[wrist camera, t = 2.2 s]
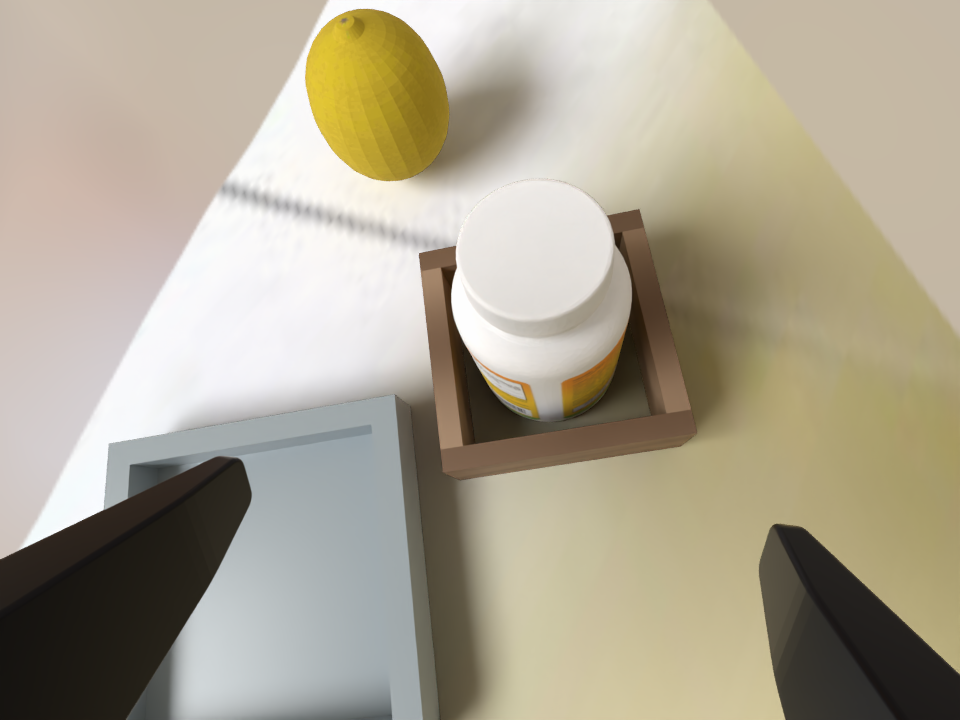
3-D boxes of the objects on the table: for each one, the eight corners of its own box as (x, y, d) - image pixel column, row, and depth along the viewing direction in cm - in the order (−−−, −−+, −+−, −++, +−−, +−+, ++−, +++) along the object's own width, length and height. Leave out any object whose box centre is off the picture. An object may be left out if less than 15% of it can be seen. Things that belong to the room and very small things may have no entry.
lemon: (454, 105, 27) (410, -57, 20) (472, 199, 26) (430, 61, 18) (348, 131, 28) (266, -16, 20) (358, 226, 26) (272, 102, 19)
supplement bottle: (610, 295, 23) (635, 141, 14) (621, 421, 22) (657, 340, 13) (483, 303, 24) (429, 163, 15) (484, 426, 22) (425, 354, 13)
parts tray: (442, 737, 19) (426, 762, 17) (129, 769, 21) (80, 796, 19) (410, 406, 23) (394, 394, 21) (148, 451, 24) (109, 443, 22)
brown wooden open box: (680, 446, 21) (697, 433, 18) (459, 480, 22) (442, 472, 19) (631, 247, 24) (639, 209, 21) (436, 285, 25) (418, 253, 22)
